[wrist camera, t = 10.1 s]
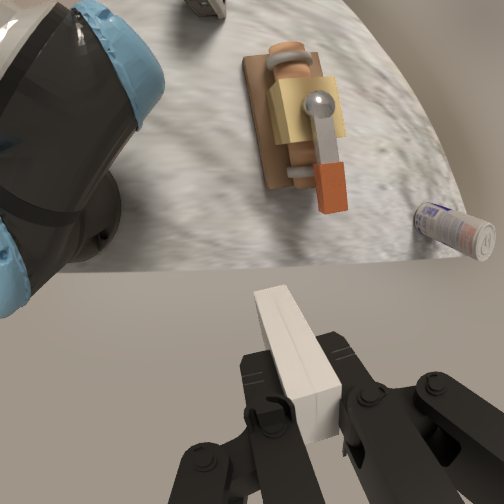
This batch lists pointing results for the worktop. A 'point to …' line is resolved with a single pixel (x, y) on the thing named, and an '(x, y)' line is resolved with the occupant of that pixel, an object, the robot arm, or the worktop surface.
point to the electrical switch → (208, 7)
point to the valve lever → (326, 153)
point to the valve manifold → (287, 111)
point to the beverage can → (456, 230)
